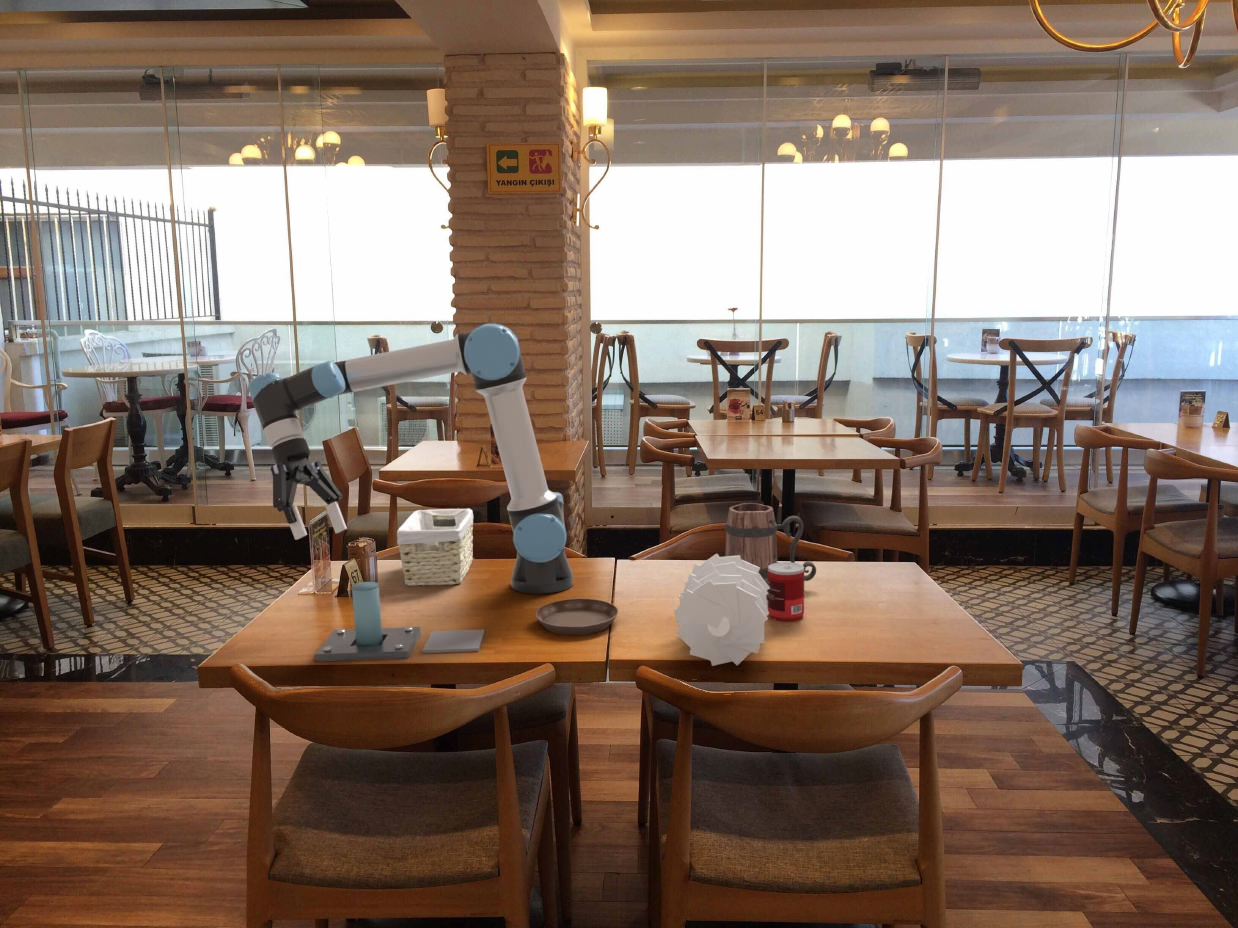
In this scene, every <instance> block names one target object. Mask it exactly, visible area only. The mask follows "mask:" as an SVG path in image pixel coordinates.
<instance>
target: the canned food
mask: <svg viewBox="0 0 1238 928" xmlns="http://www.w3.org/2000/svg"><path fill="white" fill-rule="evenodd" d="M804 575H805V572H804V566H803V564H800V563H798V562H795V563H792V562H791V561H789V562H788V561H780V562H778V563H774V564H771V565H769V566H768V586H769V588H770V589H768V600H767V608H768V612H769V614H768V617H769V618H770V619H772V620H774V621H777V622H783V623H784V622H786V623H787V622H790V623H791V622H796V621H799V620H801V619H802V618H803V617H804V613H805V581H804Z"/></svg>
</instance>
